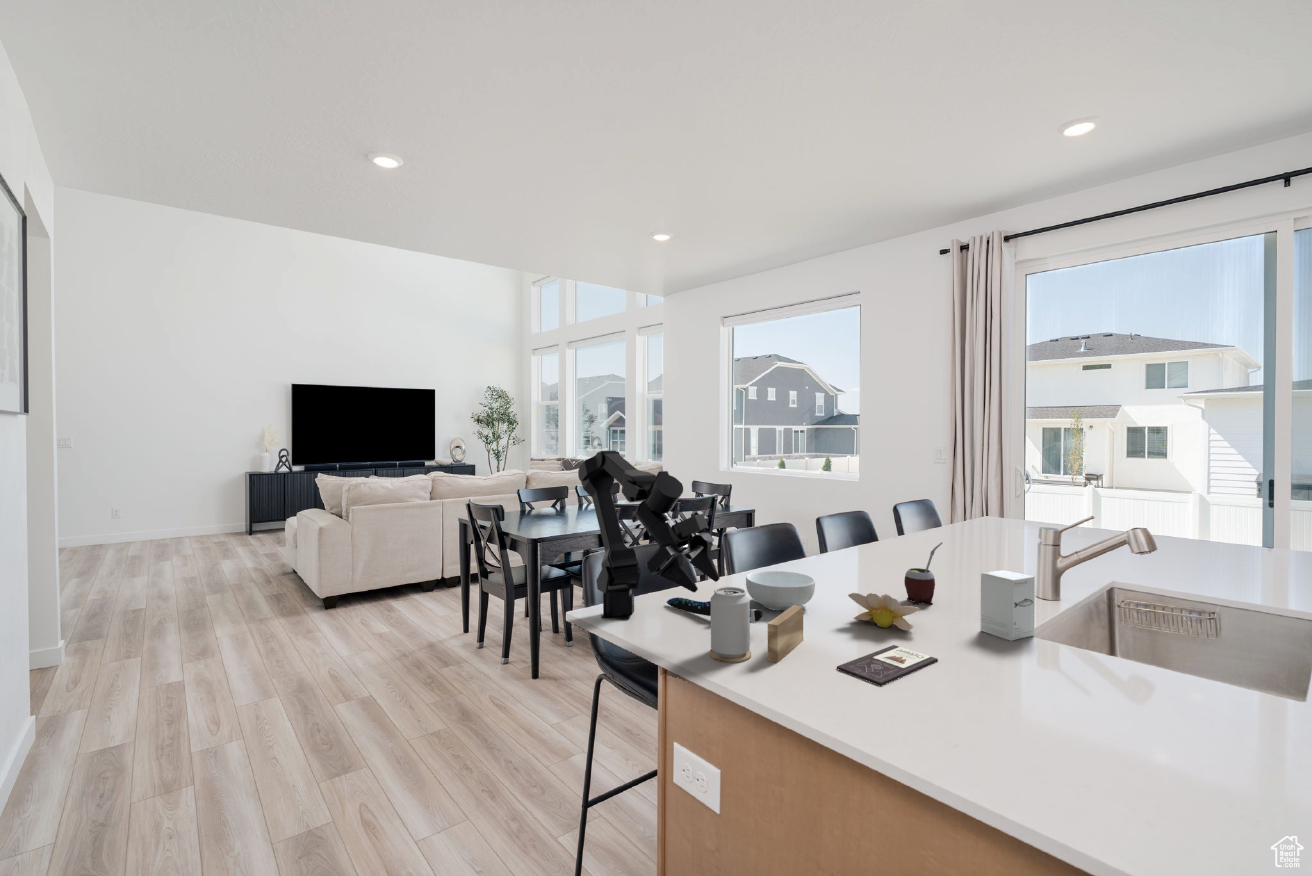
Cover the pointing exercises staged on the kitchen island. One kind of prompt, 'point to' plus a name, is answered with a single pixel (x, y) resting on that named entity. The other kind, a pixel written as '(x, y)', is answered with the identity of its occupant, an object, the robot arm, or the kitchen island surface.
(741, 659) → the coaster
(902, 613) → the decorative flower
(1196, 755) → the kitchen island surface
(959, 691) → the kitchen island surface
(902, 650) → the chocolate bar
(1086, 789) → the kitchen island surface
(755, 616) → the knife
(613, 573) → the robot arm
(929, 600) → the mate gourd
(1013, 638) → the supplement box
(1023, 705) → the kitchen island surface
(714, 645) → the can
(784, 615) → the plinth board
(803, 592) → the cereal bowl
